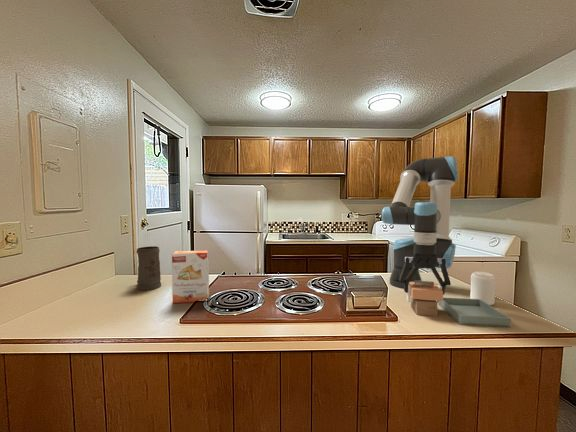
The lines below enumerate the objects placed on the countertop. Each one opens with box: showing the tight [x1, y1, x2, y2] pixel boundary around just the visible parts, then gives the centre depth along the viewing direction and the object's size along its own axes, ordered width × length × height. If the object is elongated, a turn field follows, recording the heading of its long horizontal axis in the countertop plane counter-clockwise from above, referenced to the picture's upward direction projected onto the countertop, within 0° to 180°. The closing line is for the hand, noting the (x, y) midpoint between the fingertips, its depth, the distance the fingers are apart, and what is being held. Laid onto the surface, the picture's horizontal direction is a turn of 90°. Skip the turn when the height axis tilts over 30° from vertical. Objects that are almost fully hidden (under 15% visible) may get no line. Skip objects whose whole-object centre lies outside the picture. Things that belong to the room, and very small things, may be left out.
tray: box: [438, 297, 512, 328], centre depth 99 cm, size 18×15×3 cm
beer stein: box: [136, 245, 162, 291], centre depth 135 cm, size 15×11×20 cm
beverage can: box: [469, 271, 496, 306], centre depth 111 cm, size 8×8×12 cm
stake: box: [410, 280, 438, 317], centre depth 102 cm, size 7×7×12 cm
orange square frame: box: [409, 282, 444, 301], centre depth 103 cm, size 10×11×4 cm
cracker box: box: [171, 250, 210, 304], centre depth 114 cm, size 14×6×21 cm, turn 100°
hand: (423, 301), depth 103 cm, fingers closed on orange square frame, 10 cm apart
